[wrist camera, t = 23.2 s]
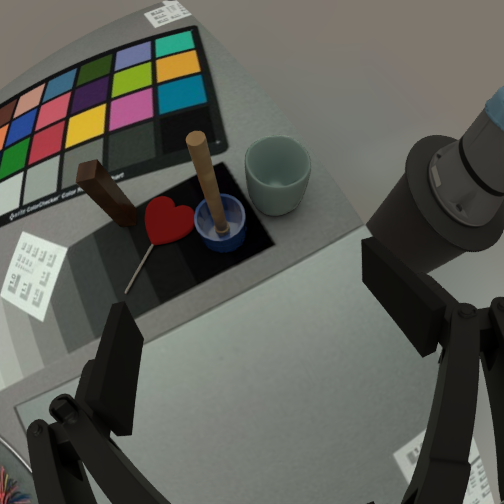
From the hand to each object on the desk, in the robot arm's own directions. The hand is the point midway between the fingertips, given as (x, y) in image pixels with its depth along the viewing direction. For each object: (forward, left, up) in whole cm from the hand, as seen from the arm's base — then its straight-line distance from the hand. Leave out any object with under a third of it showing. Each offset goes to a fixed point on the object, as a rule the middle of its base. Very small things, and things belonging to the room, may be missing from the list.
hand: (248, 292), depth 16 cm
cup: (-5, -17, -25) cm, 31 cm away
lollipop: (+13, -12, -24) cm, 30 cm away
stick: (+3, -13, -24) cm, 27 cm away
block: (+17, -17, -24) cm, 34 cm away
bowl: (+3, -13, -24) cm, 28 cm away
